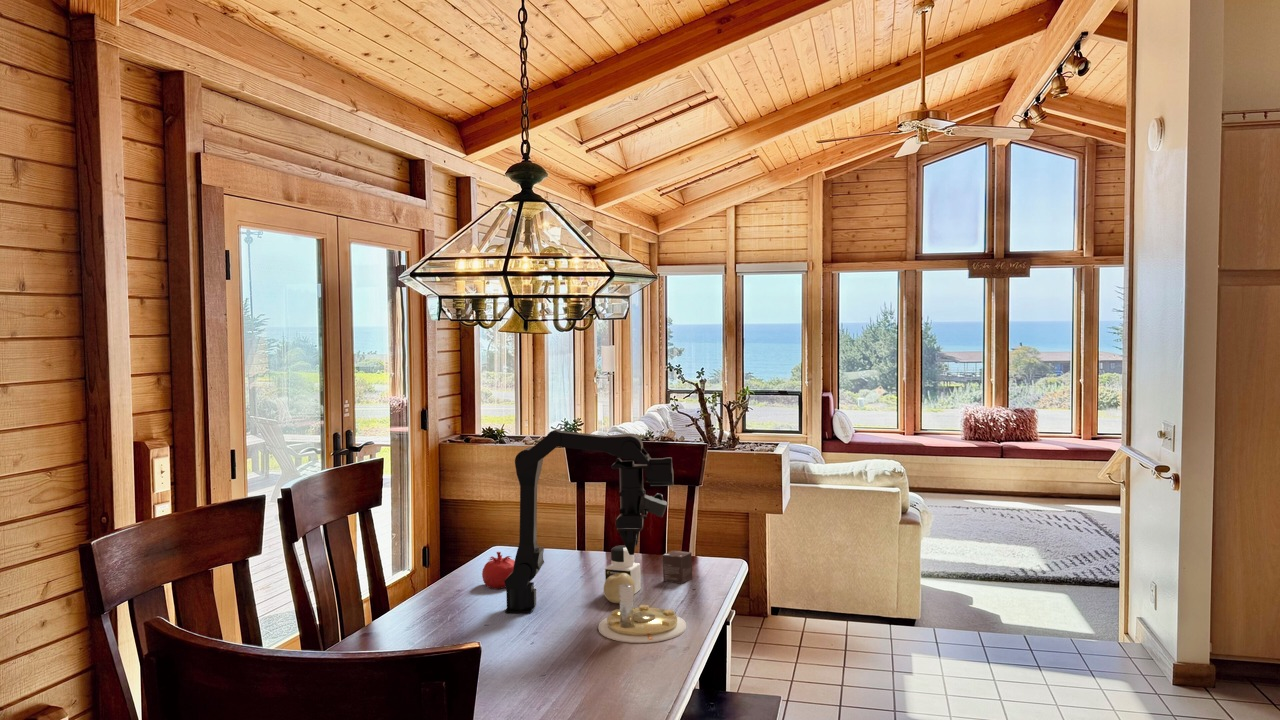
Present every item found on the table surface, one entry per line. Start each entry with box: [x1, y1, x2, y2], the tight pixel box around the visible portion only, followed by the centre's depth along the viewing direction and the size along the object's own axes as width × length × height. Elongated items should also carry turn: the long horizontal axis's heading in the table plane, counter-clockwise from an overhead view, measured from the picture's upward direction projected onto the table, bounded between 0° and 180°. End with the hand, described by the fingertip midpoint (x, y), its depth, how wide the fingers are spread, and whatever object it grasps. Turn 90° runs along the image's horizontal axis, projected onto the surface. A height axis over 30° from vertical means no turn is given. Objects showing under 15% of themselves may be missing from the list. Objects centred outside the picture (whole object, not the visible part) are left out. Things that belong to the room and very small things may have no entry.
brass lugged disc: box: [606, 584, 677, 636], centre depth 193 cm, size 16×16×10 cm
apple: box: [603, 573, 635, 604], centre depth 213 cm, size 8×8×8 cm
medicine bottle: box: [604, 544, 642, 595], centre depth 221 cm, size 7×7×12 cm
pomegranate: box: [481, 551, 515, 589], centre depth 230 cm, size 10×10×9 cm
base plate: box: [598, 615, 687, 644], centre depth 193 cm, size 20×20×1 cm
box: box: [662, 549, 693, 584], centre depth 232 cm, size 6×6×7 cm
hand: (633, 550), depth 206 cm, fingers open, 9 cm apart
